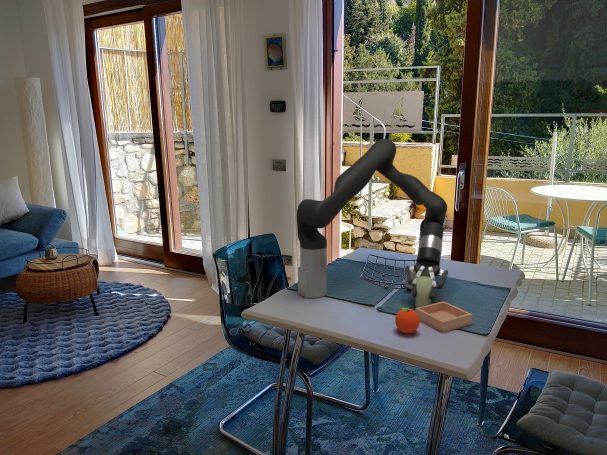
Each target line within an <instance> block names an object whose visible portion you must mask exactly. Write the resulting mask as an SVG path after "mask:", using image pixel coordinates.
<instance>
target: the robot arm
mask: <svg viewBox="0 0 607 455" xmlns="http://www.w3.org/2000/svg"><path fill="white" fill-rule="evenodd" d="M396 154H397V146H396V143H395V142H394V141H393V140H391V139H389V138H381V139H378V140H376V141H375V142H373V144H372V145H371V146H370V147H369V148H368V149H367V151H366V152H365V153H364V154H363V155H362V156H361V157H360V158H358V159H357V160H356V161H354V163H352V164H351V165H350V166H349V167H348V168H346V170H344V171H343V172H342V173H341V174H339V176H338V177H337V178H336V179H335V182H334V186H333V192H332V193H331V194H330V195H329V196H328V197H327V198H324V199H323V200H317V199H310V198H305V199H303V200H302V201H300V202H299V204H298V206H297V209H296V231H297V239H298V242H299V266H298V267H297V293H298V294H299V295H301V296H302V297H304V298H305V299H318V298H324V297H325V296H326V295H327V291H328V290H327V289H328V287H327V284H328V283H327V282H328V281H327V280H328V277H327V274H328V270H327V269H328V268H327V267H328V266H327V265H328V262H327V261H328V258H327V257H328V253H327V252H328V242H327V241H328V240H327V237H326V236H325V235H323V234H322V233H321V232H320V231H319V229H324V228H327V226H329V225H330V224H331V223H332V221H333V220H334V219H335V218H336V217H337V215H338V214H339V213H340V212H341V211H342V210H343V209H344V207H346V206H347V204H349V202H350V201H352V199H354V198H355V196H357V195H358V194H359V193H361V191H362V190H364V189H365V187H366V186H367V185H368V183H369V182H370V181H371V179H372V178H373V175H374V174H375V172H378V173H379V174H380V175H382V176H383V177H385V179H387V180H388V181H389V182H391V183H392V184H394V185H395V186H397V187H398V189H400V190H401V192H403V193H404V194H405V195H406V196H407V197H408V198H409V199H410V201H412V202H413V203H414V204H415V205H417V206H423V207H424V208H425V213H424V221H423V227H422V232H421V237H420V238H421V239H420V241H419V245H418V248H417V249H418V251H417V255H416V256H417V257H416V262H415V263H416V264H415V265H414V267H410V266H409V265H407V266H405V271H406V273H405V275H406V274H407V281H408V285H411V286H412V289H411V290H410V292H411V296H412V297H413V299H416V285H417V277H418V276H428V277H431V278H432V288H431V294H430V300H431V301H433V299H436V296H437V295H436V294H437V290H438V289H439V290H441V289H443V287H444V286H445V283H446V281H447V279H448V277H449V271H448V270H447V269H444V270H443V269H441V267H440V265H441V259H442V258H441V257H442V250H443V237H444V225H445V220H446V215H447V213H448V212H447V211H448V204H447V202H446V200H445V199H444V198H443V197H442V196H440V195H438V194H437V193H436V192H434V191H432V190H430V189H429V188H428V187H427V186H426V185H425V184H424V183H423V182H422V181H421V180H420V179H419V178H418V177H415V176H414V175H411V174H407V173H403V172H401V171H400V170H398V168H397V167H396V166H395V165H394V161H395V158H396ZM413 270H415V272H416V276H415V279H414V281H413V280H411V274H412V273H413ZM439 274H440V279H439V281H438V283H437V282H436V277H437V276H438V275H439Z"/></svg>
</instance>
